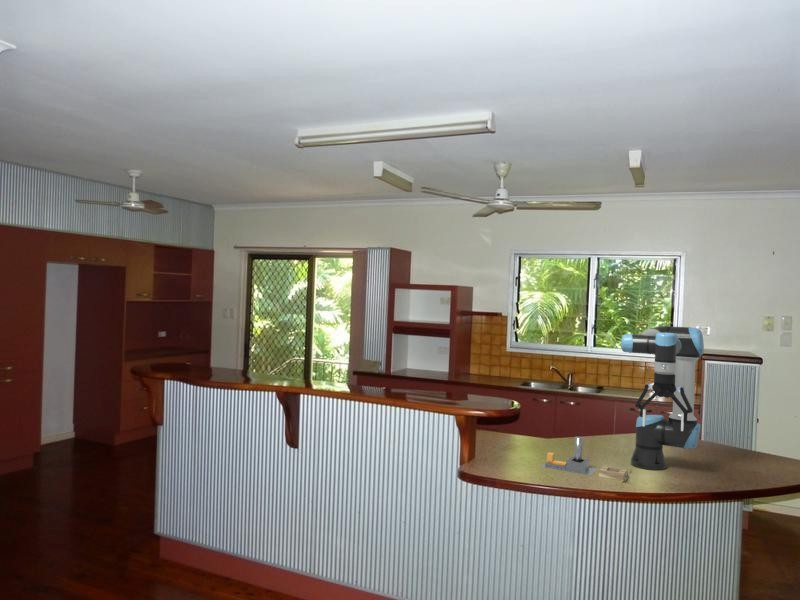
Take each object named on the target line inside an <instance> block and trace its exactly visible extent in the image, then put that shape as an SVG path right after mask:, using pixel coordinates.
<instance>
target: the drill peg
mask: <svg viewBox="0 0 800 600" xmlns="http://www.w3.org/2000/svg"><path fill="white" fill-rule="evenodd" d="M573 454H574V455H573V457H574V461H577V462H582V459H583V437H582V436H574V453H573Z"/></svg>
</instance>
